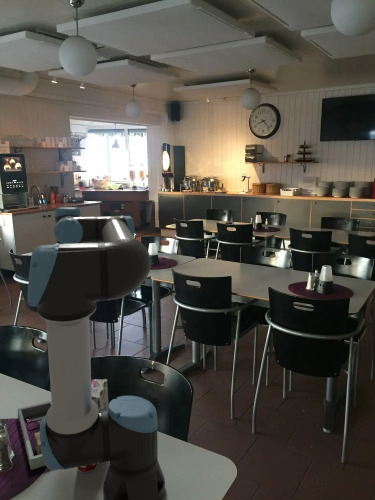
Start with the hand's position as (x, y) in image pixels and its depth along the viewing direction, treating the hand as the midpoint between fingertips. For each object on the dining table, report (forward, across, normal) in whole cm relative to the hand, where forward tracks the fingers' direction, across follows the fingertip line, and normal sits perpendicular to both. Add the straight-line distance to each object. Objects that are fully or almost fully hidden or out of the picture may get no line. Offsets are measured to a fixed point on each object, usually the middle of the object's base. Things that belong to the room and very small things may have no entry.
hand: (73, 330), depth 135 cm
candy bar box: (+29, +17, +2) cm, 33 cm away
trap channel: (+28, +8, -12) cm, 32 cm away
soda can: (+29, +28, -4) cm, 40 cm away
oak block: (+29, +16, -12) cm, 35 cm away
